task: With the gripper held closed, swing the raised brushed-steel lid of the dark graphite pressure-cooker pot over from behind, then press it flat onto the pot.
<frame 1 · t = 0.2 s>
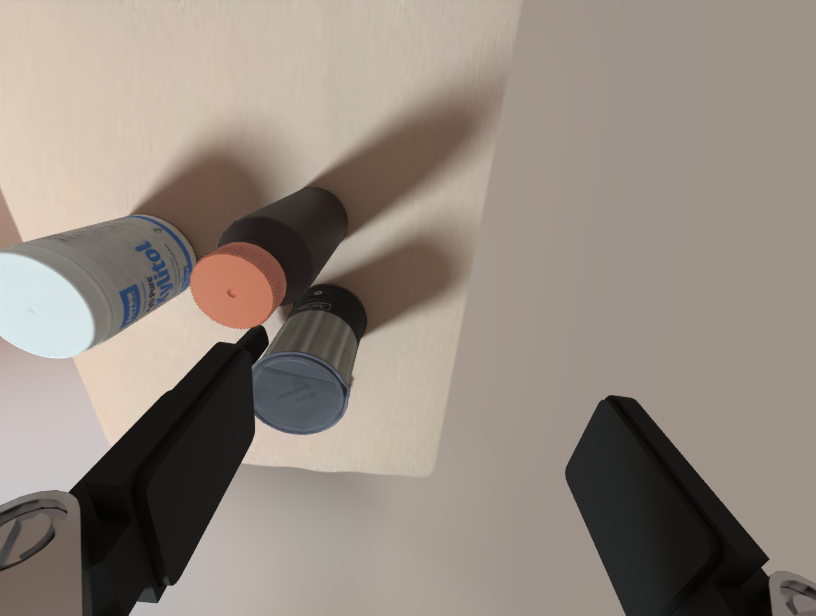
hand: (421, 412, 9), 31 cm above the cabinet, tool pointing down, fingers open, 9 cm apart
milk frother: (327, 343, 46), on the cabinet
supplement tub: (158, 253, 40), on the cabinet
bottle: (317, 218, 38), on the cabinet
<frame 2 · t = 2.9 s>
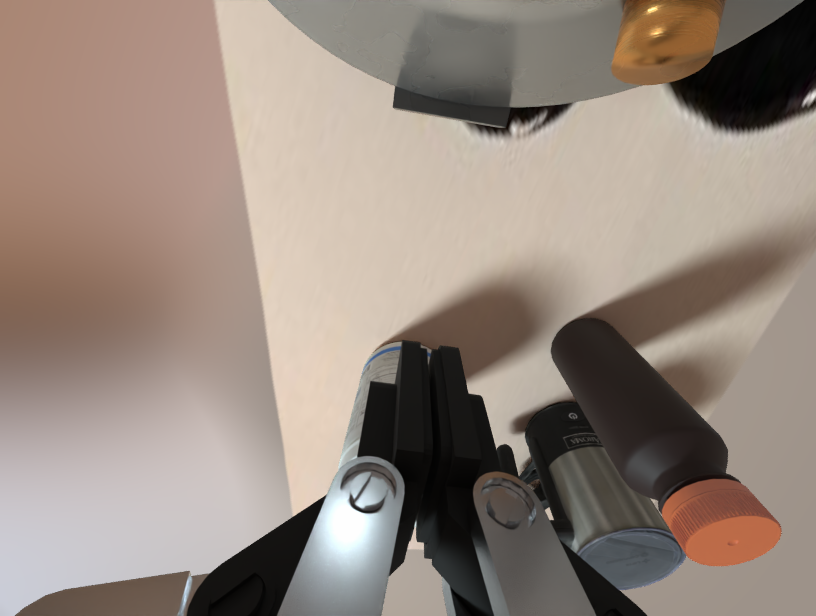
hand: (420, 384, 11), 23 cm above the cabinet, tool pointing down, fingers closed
milk frother: (549, 451, 45), on the cabinet
supplement tub: (404, 372, 40), on the cabinet
bottle: (581, 343, 37), on the cabinet
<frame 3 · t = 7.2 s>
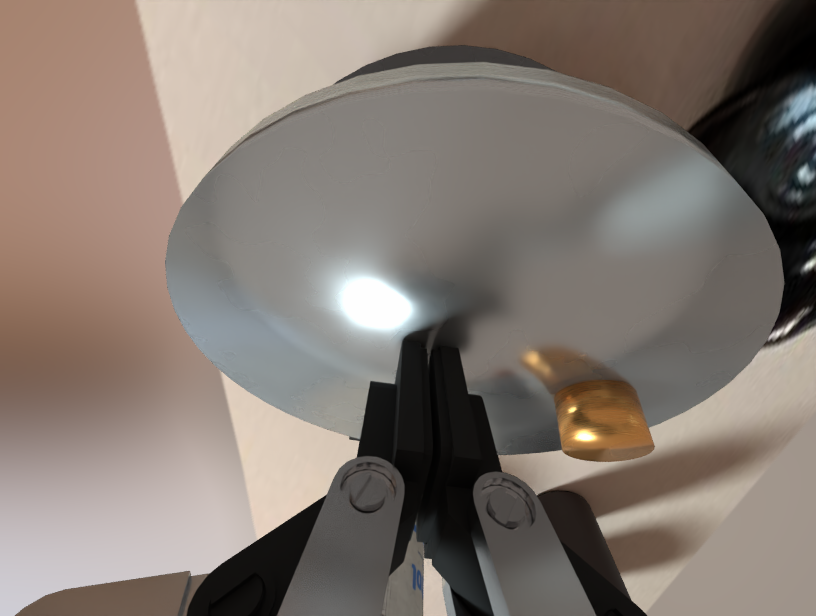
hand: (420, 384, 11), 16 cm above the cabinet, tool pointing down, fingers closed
lid: (440, 378, 11), point 16 cm above the cabinet, hinge at 24.0°, touching gripper
supplement tub: (382, 522, 40), on the cabinet
pot: (435, 221, 24), on the cabinet
bottle: (555, 507, 38), on the cabinet
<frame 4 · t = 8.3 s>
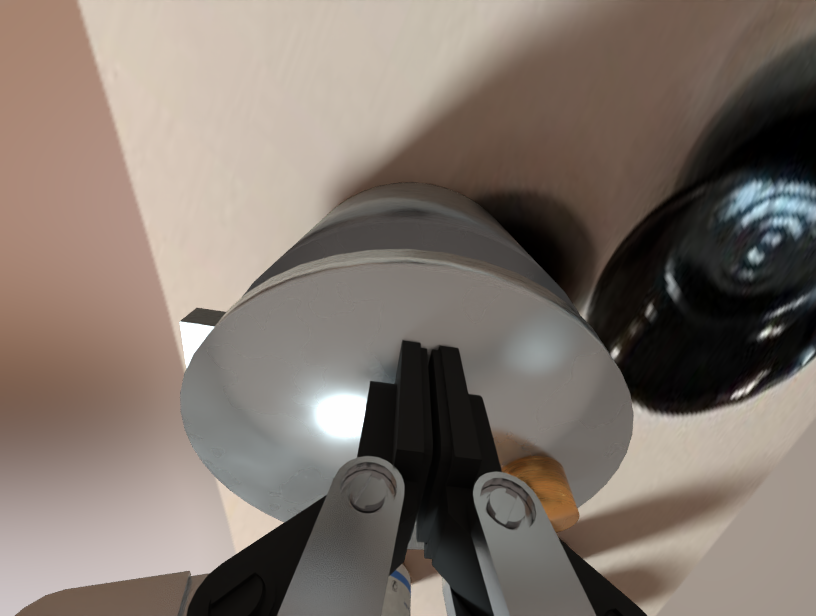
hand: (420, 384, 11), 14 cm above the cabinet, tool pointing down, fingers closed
lid: (402, 462, 13), point 14 cm above the cabinet, hinge at 8.6°
supplement tub: (369, 569, 41), on the cabinet
pot: (409, 300, 25), on the cabinet
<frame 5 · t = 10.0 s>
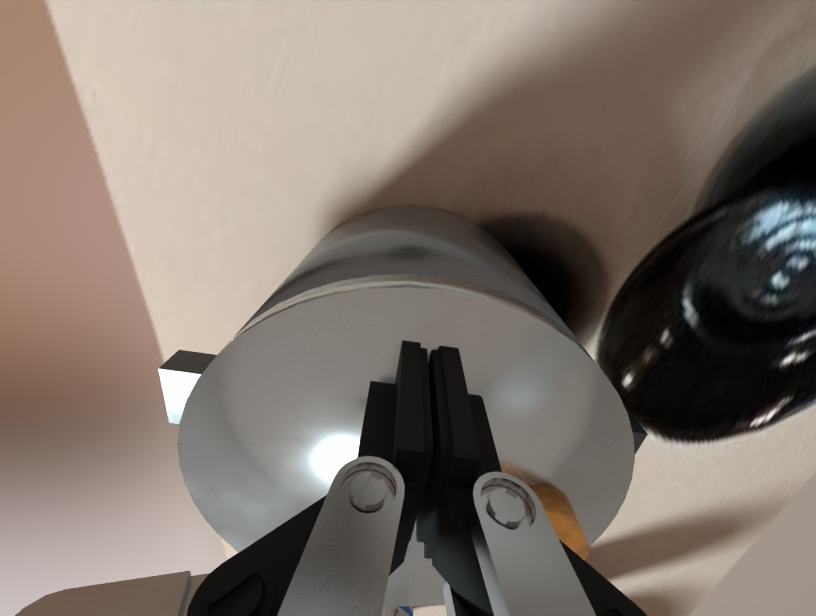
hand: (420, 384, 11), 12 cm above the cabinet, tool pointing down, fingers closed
lid: (403, 497, 13), point 12 cm above the cabinet, hinge at -0.1°, touching gripper
supplement tub: (370, 594, 39), on the cabinet
pot: (409, 326, 24), on the cabinet
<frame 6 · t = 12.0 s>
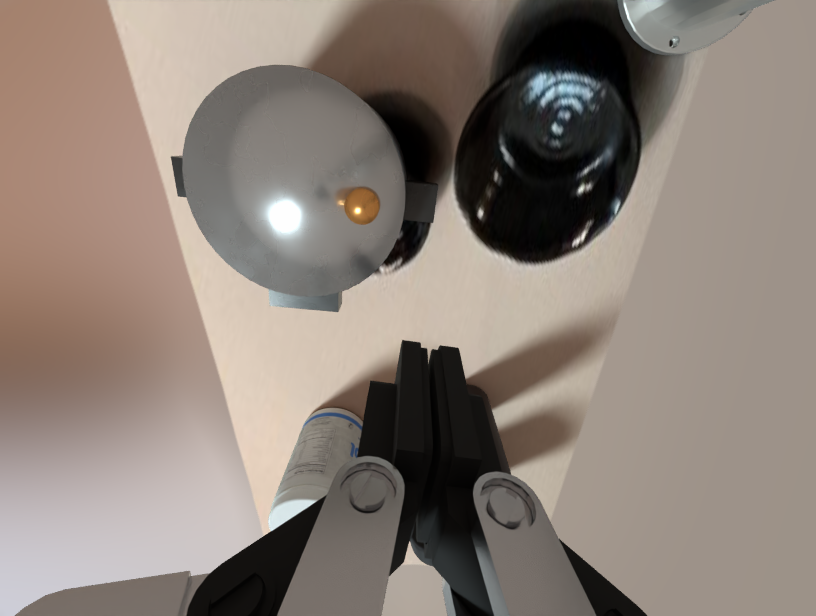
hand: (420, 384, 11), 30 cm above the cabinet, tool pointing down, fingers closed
lid: (294, 196, 25), point 12 cm above the cabinet, hinge at -0.1°
supplement tub: (336, 428, 52), on the cabinet
pot: (330, 179, 37), on the cabinet
bottle: (464, 401, 50), on the cabinet
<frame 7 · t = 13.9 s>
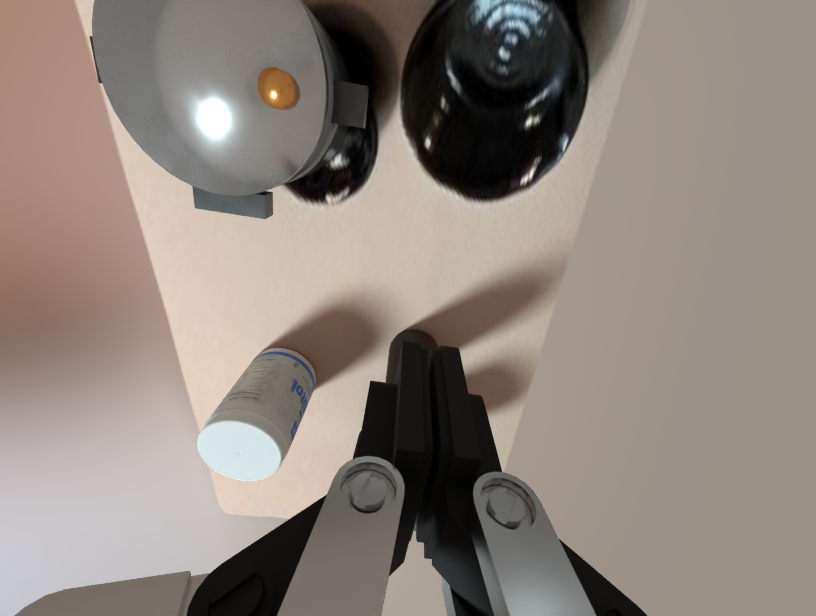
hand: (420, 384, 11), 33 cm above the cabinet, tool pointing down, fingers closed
lid: (210, 78, 25), point 12 cm above the cabinet, hinge at -0.1°
supplement tub: (285, 371, 51), on the cabinet
pot: (274, 96, 36), on the cabinet
bottle: (413, 348, 49), on the cabinet
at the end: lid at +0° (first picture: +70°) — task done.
